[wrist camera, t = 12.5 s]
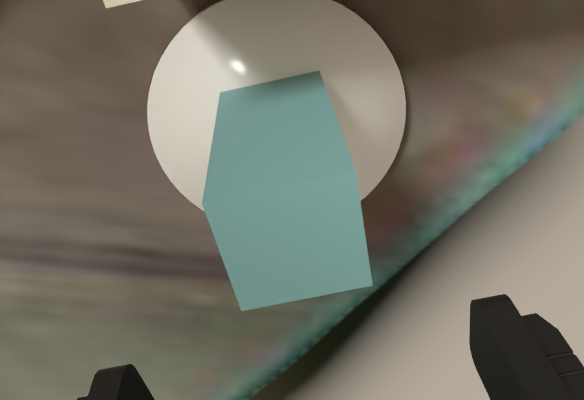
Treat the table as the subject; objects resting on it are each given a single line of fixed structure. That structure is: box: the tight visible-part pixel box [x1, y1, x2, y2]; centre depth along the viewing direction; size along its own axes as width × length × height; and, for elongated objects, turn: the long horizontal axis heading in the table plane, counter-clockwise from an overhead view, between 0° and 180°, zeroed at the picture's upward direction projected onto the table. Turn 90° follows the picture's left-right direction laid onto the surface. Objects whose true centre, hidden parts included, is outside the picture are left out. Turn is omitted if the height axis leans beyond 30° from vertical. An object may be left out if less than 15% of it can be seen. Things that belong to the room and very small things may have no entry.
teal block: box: [202, 71, 373, 311], centre depth 19 cm, size 4×4×9 cm
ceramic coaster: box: [147, 0, 406, 211], centre depth 23 cm, size 12×12×1 cm
